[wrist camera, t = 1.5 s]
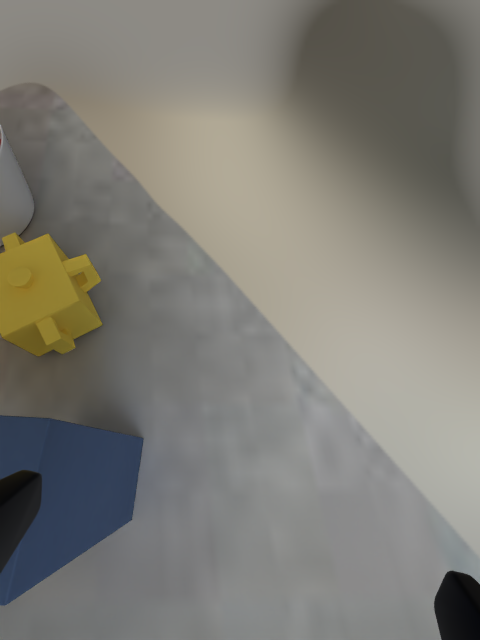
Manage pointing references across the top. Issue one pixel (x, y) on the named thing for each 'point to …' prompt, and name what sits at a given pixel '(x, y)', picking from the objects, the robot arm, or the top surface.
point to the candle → (13, 193)
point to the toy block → (44, 295)
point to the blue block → (66, 492)
